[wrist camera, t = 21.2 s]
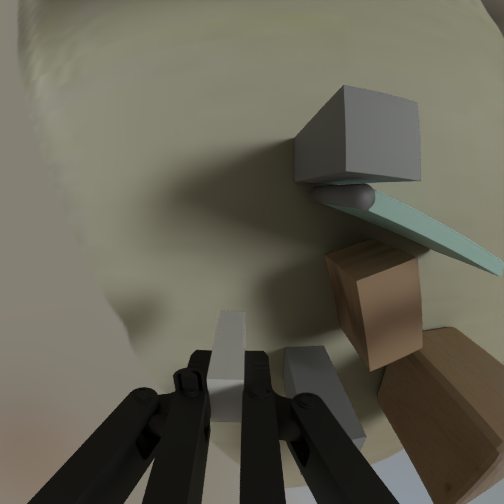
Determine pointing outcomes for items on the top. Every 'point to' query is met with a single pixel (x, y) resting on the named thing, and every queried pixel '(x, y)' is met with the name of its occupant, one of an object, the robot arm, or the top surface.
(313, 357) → the post
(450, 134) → the top surface
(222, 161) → the top surface
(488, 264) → the gate
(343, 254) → the brown rectangular block
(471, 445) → the wooden block
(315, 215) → the top surface
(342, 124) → the hinge post
